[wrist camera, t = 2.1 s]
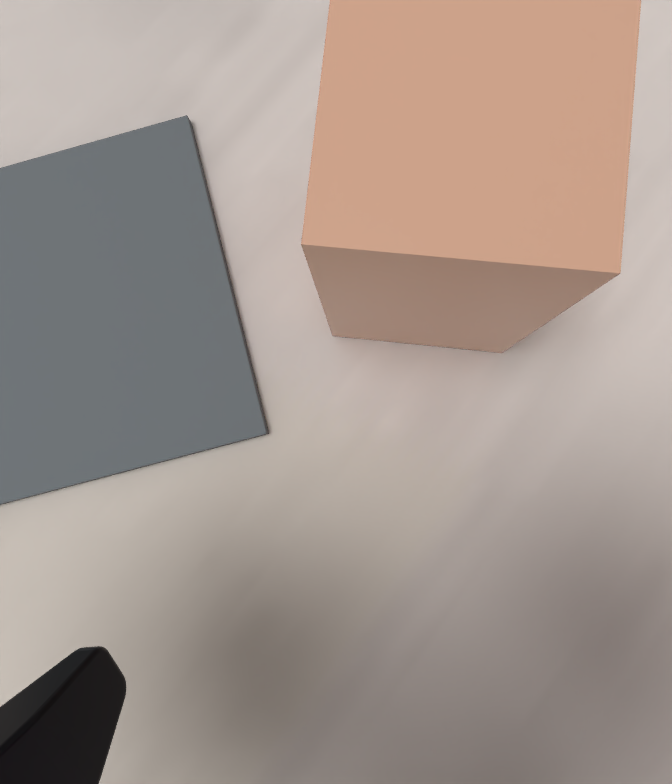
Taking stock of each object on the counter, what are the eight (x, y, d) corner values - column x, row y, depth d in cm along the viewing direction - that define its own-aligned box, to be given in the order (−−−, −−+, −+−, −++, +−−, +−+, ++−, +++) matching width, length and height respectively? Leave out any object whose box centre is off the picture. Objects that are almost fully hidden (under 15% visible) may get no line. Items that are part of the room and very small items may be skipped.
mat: (268, 433, 21) (266, 433, 21) (-51, 518, 22) (-61, 519, 21) (190, 122, 22) (186, 115, 22) (-112, 207, 23) (-123, 202, 22)
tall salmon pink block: (501, 353, 21) (620, 273, 11) (332, 335, 22) (301, 244, 12) (516, 188, 22) (643, -30, 12) (350, 174, 22) (335, -48, 12)
